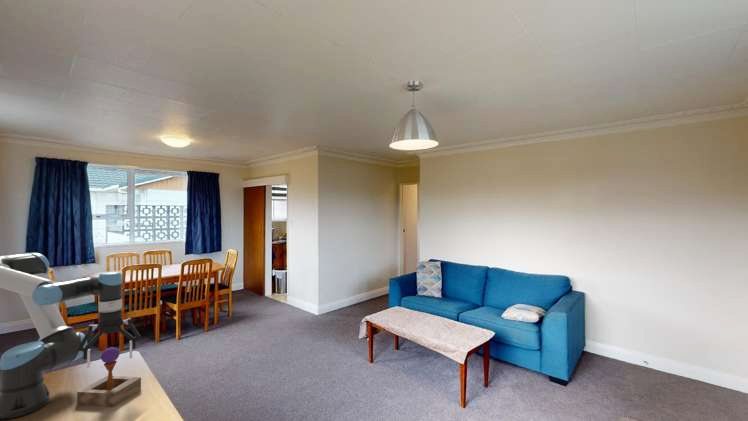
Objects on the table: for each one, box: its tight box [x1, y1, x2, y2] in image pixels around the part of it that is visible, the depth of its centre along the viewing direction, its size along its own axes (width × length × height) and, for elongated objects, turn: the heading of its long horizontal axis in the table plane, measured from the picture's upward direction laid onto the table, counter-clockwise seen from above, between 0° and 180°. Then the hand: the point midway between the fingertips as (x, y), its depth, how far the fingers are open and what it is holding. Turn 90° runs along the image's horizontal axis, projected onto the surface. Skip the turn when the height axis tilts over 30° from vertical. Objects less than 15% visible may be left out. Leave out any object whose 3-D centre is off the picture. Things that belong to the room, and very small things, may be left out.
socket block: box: [76, 375, 142, 407], centre depth 135 cm, size 16×13×5 cm
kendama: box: [100, 346, 120, 391], centre depth 135 cm, size 6×6×20 cm
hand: (110, 361), depth 135 cm, fingers open, 13 cm apart
